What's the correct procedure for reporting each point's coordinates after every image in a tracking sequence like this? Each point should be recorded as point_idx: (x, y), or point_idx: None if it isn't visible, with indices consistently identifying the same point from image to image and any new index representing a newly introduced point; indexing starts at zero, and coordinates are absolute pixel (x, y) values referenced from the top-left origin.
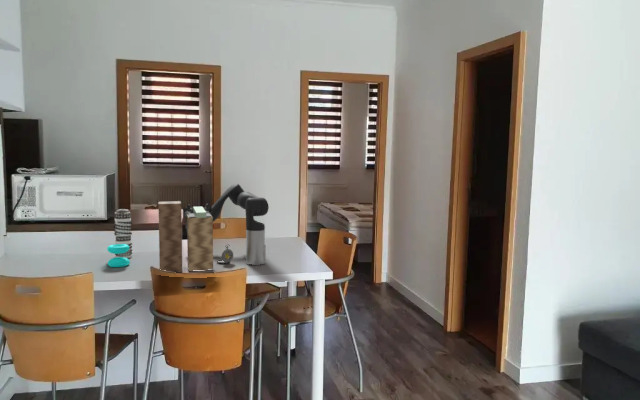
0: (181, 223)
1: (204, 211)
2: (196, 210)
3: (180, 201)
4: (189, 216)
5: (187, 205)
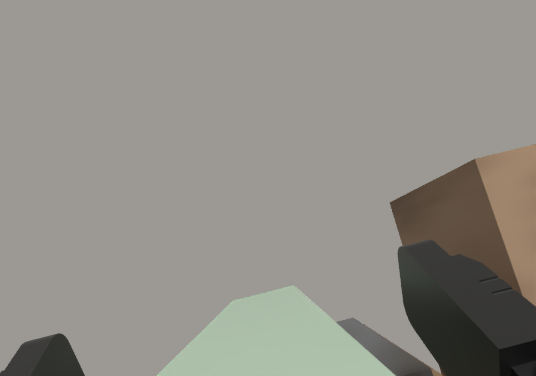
0: (440, 368)
1: (236, 303)
2: (291, 296)
3: (460, 166)
4: (355, 320)
5: (457, 257)
